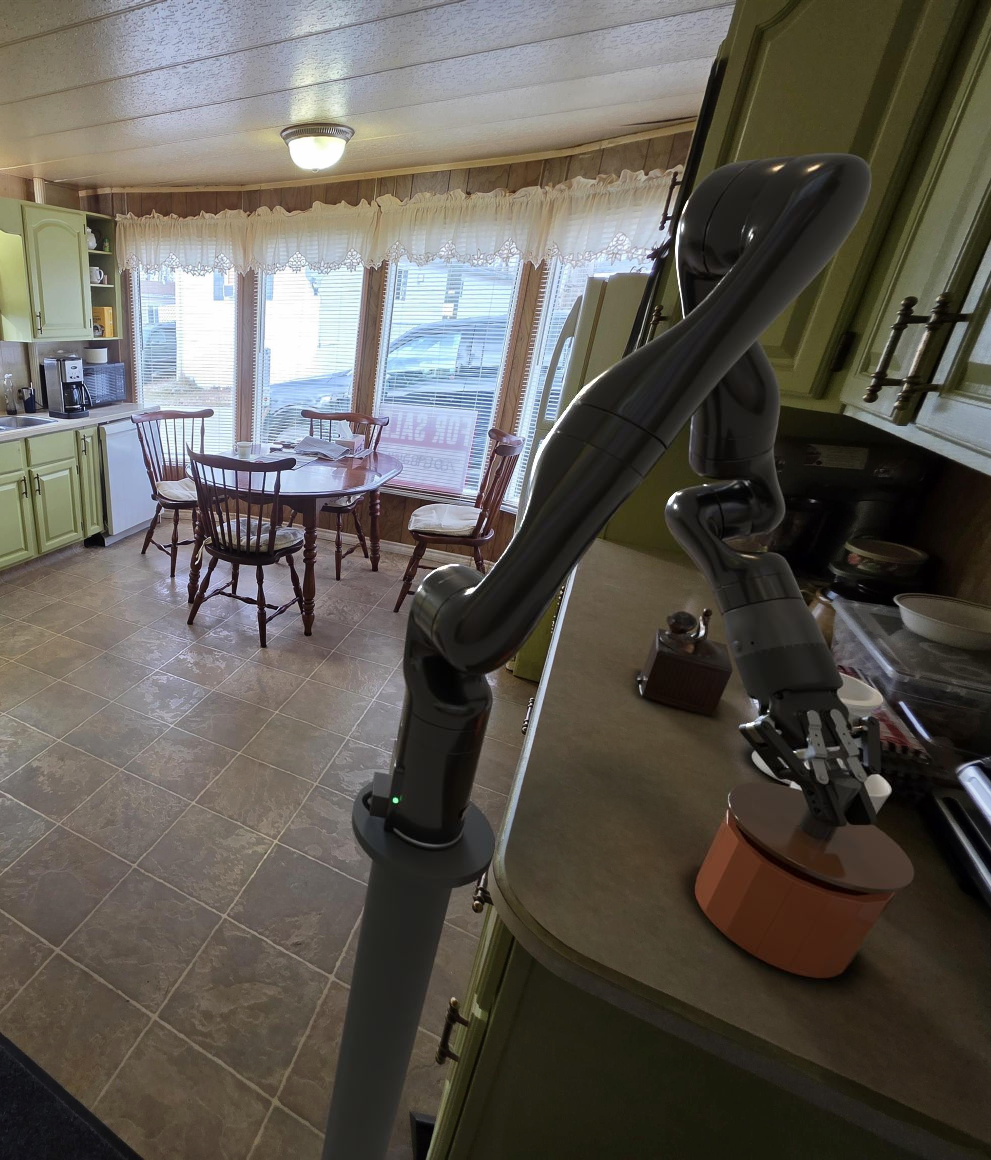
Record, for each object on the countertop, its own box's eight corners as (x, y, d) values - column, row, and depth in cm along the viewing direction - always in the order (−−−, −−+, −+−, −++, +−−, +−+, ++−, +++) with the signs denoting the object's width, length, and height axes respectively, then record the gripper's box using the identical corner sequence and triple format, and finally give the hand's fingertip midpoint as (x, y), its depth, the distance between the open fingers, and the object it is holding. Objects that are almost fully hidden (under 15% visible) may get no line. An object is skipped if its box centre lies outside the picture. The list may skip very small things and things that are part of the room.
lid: (765, 877, 57) (798, 814, 54) (701, 779, 69) (725, 723, 66) (949, 915, 54) (996, 850, 51) (848, 806, 66) (880, 748, 63)
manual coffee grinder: (636, 670, 114) (666, 582, 107) (709, 689, 108) (746, 597, 101) (634, 710, 102) (669, 613, 95) (717, 734, 96) (759, 633, 89)
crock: (726, 957, 62) (765, 882, 58) (676, 859, 73) (705, 790, 69) (880, 994, 59) (933, 918, 55) (803, 886, 70) (842, 816, 66)
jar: (840, 807, 82) (892, 714, 76) (743, 774, 88) (784, 685, 82) (829, 766, 90) (875, 679, 84) (741, 738, 96) (778, 655, 90)
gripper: (749, 641, 60) (822, 830, 54) (875, 637, 62) (960, 821, 55) (688, 660, 67) (747, 829, 61) (802, 656, 69) (871, 822, 62)
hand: (848, 824), depth 58 cm, fingers closed on lid, 2 cm apart
